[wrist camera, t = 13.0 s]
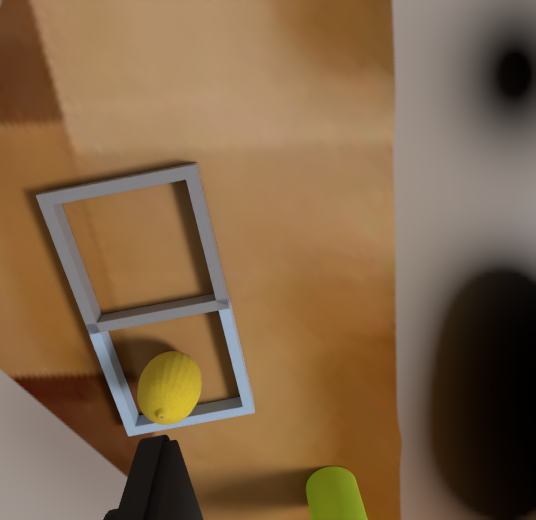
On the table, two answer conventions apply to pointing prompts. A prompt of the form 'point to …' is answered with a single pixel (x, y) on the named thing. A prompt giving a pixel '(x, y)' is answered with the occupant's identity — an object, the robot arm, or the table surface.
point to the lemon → (169, 388)
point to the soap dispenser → (334, 495)
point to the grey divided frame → (154, 313)
